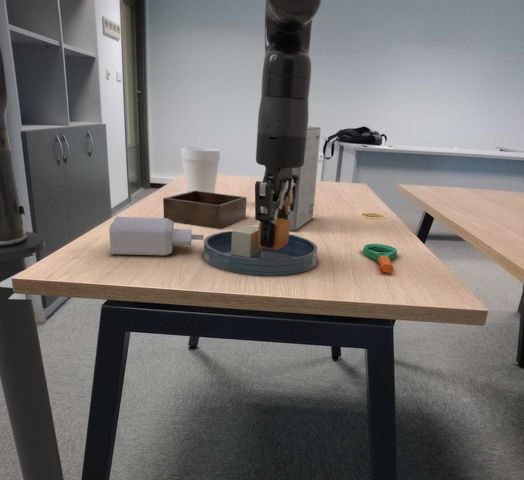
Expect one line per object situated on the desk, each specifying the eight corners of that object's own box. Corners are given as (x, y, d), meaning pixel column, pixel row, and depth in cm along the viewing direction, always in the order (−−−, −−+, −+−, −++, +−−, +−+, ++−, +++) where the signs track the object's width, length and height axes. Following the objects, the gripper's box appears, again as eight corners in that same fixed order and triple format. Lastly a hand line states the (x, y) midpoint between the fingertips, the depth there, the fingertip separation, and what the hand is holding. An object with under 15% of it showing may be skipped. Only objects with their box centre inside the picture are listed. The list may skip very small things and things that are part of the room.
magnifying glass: (361, 248, 91) (363, 240, 90) (393, 251, 90) (395, 242, 89) (367, 272, 77) (369, 262, 76) (405, 276, 77) (407, 266, 76)
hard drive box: (282, 214, 115) (289, 124, 106) (313, 218, 113) (322, 127, 104) (261, 227, 102) (267, 125, 93) (295, 231, 100) (304, 128, 91)
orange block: (257, 247, 77) (259, 222, 76) (269, 240, 82) (271, 216, 80) (277, 250, 76) (279, 225, 75) (288, 243, 81) (290, 219, 79)
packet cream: (231, 254, 80) (231, 230, 78) (244, 247, 84) (244, 224, 83) (249, 257, 79) (251, 233, 77) (262, 250, 83) (263, 227, 82)
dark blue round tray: (182, 262, 76) (182, 247, 75) (232, 238, 92) (233, 225, 91) (295, 283, 70) (297, 267, 69) (328, 253, 86) (329, 239, 85)
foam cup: (186, 198, 127) (185, 146, 121) (220, 201, 127) (221, 148, 121) (179, 205, 118) (178, 149, 112) (216, 207, 118) (216, 151, 112)
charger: (203, 258, 79) (111, 256, 77) (203, 244, 87) (119, 241, 85) (203, 230, 77) (108, 227, 75) (203, 218, 85) (117, 215, 83)
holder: (163, 220, 103) (162, 198, 100) (194, 210, 114) (194, 190, 112) (219, 228, 98) (220, 206, 96) (245, 217, 110) (246, 197, 108)
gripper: (275, 129, 78) (267, 231, 86) (240, 130, 66) (235, 248, 74) (318, 133, 76) (307, 237, 84) (290, 135, 64) (279, 256, 72)
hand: (273, 242), depth 79 cm, fingers closed on orange block, 5 cm apart
